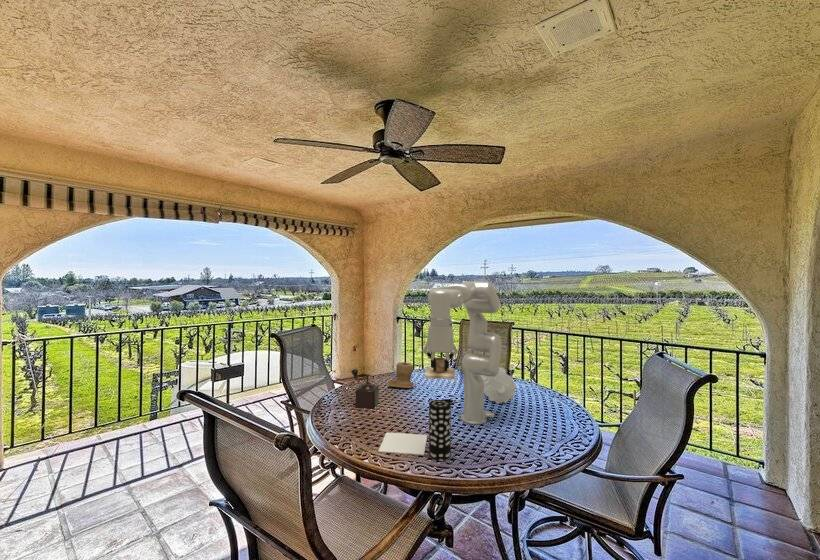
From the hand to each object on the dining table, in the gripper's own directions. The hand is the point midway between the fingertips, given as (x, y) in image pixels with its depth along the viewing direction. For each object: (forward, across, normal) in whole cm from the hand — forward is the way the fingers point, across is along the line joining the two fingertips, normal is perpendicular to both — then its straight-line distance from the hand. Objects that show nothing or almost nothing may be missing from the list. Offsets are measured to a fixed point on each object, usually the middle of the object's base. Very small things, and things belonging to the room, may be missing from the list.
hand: (440, 369), depth 130 cm
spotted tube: (+33, 0, +1) cm, 33 cm away
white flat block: (+33, +15, -6) cm, 37 cm away
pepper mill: (+34, +43, -45) cm, 71 cm away
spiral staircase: (+34, -29, -65) cm, 79 cm away
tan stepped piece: (+34, +27, -77) cm, 89 cm away
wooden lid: (+2, 0, 0) cm, 2 cm away
